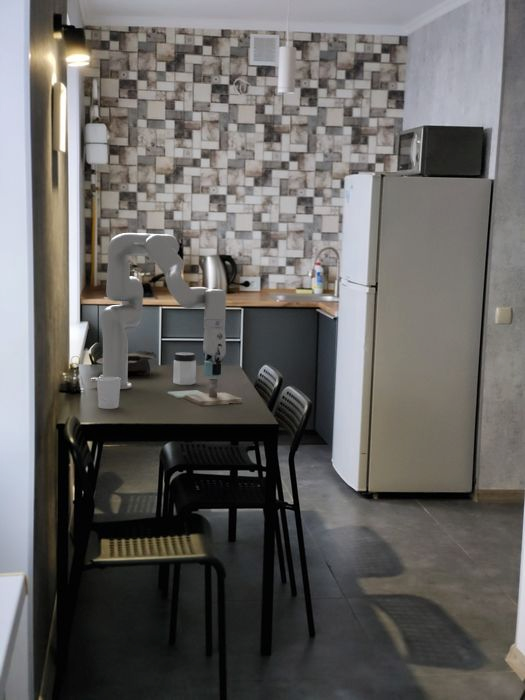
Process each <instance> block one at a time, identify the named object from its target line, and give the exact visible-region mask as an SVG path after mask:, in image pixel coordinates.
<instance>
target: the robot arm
mask: <svg viewBox="0 0 525 700" xmlns="http://www.w3.org/2000/svg"><path fill="white" fill-rule="evenodd" d="M179 250H180V244H179V241H178V240H177V238H176V237H175V236H174V235H171V234H163V233H161V234H159V233H156V234H155V233H145V232H144V233H142V232H141V233H139V232H137V233H136V232H125V233H120V234H117V235H115V236H114V237H112V238H111V240H110V241H109V243H108V246H107V272H106V288H105V295H106V297H107V299H108V300H109V301H111V302H116V303H119V302H121V304H114V305H112V304H111V305H109V306H106V307H105V308H104V309H103V310H102V311H101V313H100V319H99V320H100V325H101V331H102V358H103V364H102V374H100V375H99V376H98V377H90V379H89V381H90V382H89V383H91V384H93V383H94V384H97V378H99V377H118V378H120V390H127V389H130V388H133V387H132V383H130V382H128V381H129V378H128V375H129V374H128V372H129V371H128V354H129V341H128V335H127V333H126V330H129V329H135V328H136V327H138V325H139V324H140V323H141V320H142V315H143V303H144V287H143V283H142V282H141V280H139V279H138V277H135V276H132V275H131V264H130V261H129V258H128V257H130V256H131V257H132V256H133V257H138V256H142V257H150V258H151V259H152V261H153V262H154V263H155V264H156V265H157V267H158V269H159V270H160V271H161V272H162V273H163V275H164V277H165V283H166V286H167V289H168V292H169V293H170V296H172V297H173V298H174V299H175V301H176V302H177V303H178V304H179V305H180V306H181V307H182V308H185V309H188V310H189V309H191V310H192V309H200V308H201V309H202V308H203V309H204V315H203V316H204V319H203V328H204V331H203V340H202V342H203V343H202V351H203V355H204V358H203V359H204V362H205V361H207V360H209V359H213V361H214V364H213V367H212V375H221V376H222V373H221V364H222V365H223V360H224V357H225V356H226V354H227V353H226V352H227V351H226V350H227V349H226V347H227V343H226V342H227V341H226V311H227V310H226V308H227V292H226V291H225V290H224V289H219V288H218V289H217V288H209V287H204V286H193V287H191V286H190V285H188V283H186V281H185V279H183V277H182V275H181V272H182V271H183V270H184V268H185V261H184V259H182V257H181V256H180V254H178V252H179Z"/></svg>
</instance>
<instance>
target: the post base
mask: <svg viewBox="0 0 525 700" xmlns="http://www.w3.org/2000/svg"><path fill="white" fill-rule="evenodd" d="M208 380H209V381H208V382H209V386H208V393H206V392H203V393H204V394H188V395H185V398H184V400H187V401H189V402H192V403H194V404H196V405H198V406H201V407H203V406H216V405H229V403H233V404H242V402H243V401H242V398H241V397H239V396H238V397H237V396H235V395H234V394H231V393H228V392H225V391H224V392H218V387H219V385H218V384H219V382H218V381H219V380H218V378H216V377H214V378H213V377H211V378H209V379H208Z"/></svg>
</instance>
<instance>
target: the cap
mask: <svg viewBox="0 0 525 700" xmlns="http://www.w3.org/2000/svg"><path fill="white" fill-rule="evenodd" d="M213 364H214V361H213V359H209V360H207V361H205V360H204V363H203V376H205V377H211V378H213V377H214V378H216V377H221V376H222V374H223V373H222V371H223V370H222V369H223V368H222V367H223V366H222V365H223V363H222V364H221V375H212V367H213Z"/></svg>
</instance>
